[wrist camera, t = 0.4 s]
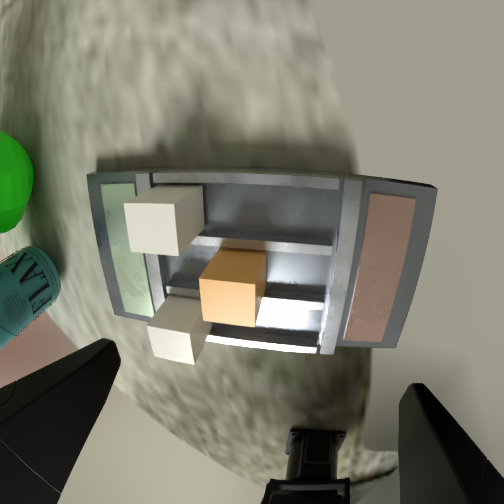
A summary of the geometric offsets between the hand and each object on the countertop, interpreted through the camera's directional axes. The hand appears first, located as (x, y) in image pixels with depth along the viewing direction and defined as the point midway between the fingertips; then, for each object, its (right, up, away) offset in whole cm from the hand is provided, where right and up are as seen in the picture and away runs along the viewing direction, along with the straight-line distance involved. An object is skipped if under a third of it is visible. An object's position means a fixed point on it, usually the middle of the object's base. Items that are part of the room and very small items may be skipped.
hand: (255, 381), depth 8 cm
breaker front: (-5, +7, +11) cm, 13 cm away
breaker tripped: (-1, +3, +12) cm, 12 cm away
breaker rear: (-5, -1, +14) cm, 15 cm away
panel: (0, +3, +13) cm, 14 cm away
